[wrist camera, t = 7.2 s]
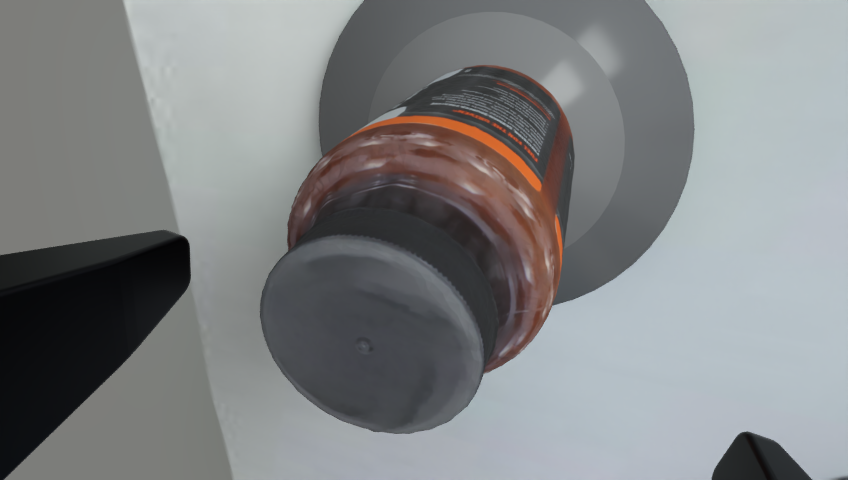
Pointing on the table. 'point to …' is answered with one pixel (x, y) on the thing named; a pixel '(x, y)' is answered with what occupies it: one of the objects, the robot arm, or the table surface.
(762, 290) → the table surface
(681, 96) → the plate
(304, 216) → the supplement bottle
